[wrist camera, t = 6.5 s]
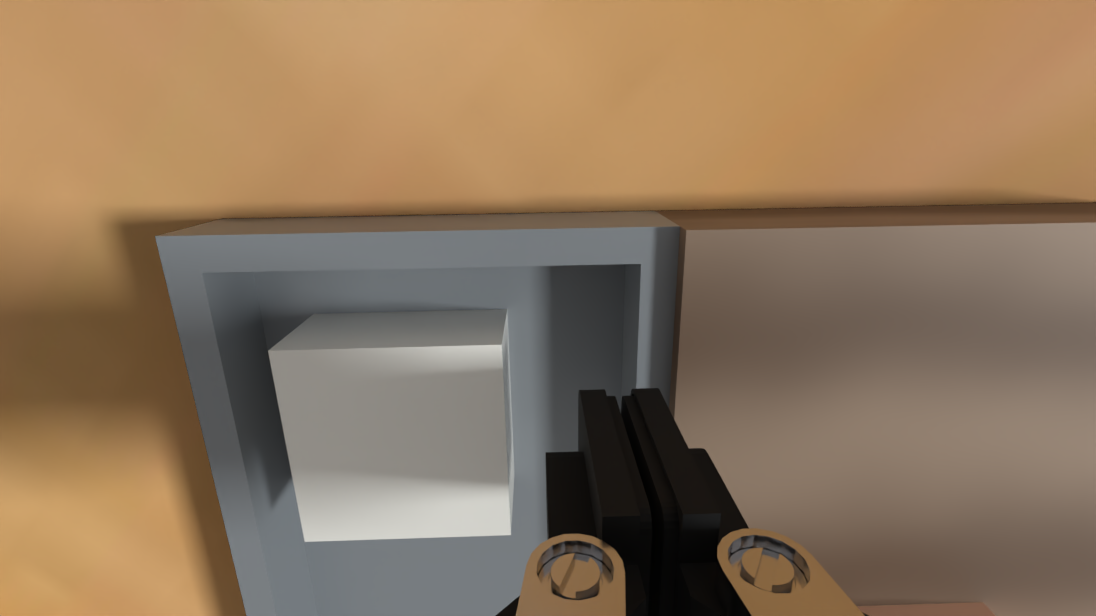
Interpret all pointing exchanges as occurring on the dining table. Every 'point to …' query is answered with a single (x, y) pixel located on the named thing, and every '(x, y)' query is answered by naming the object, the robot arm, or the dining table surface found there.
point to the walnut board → (902, 392)
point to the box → (403, 286)
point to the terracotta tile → (929, 609)
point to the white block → (398, 423)
